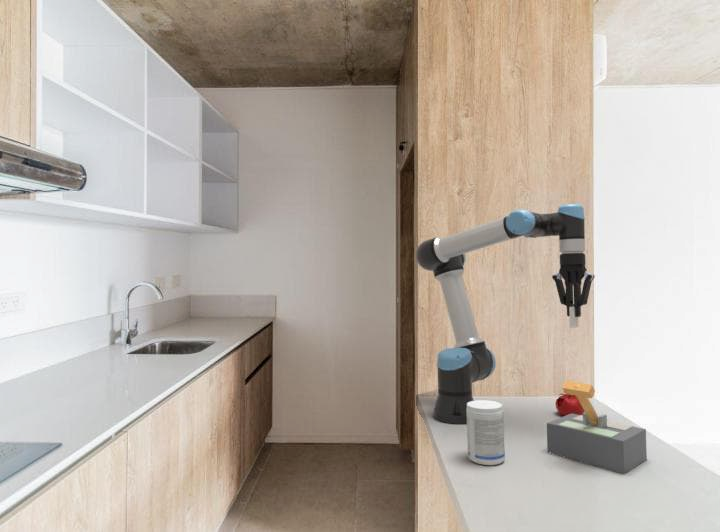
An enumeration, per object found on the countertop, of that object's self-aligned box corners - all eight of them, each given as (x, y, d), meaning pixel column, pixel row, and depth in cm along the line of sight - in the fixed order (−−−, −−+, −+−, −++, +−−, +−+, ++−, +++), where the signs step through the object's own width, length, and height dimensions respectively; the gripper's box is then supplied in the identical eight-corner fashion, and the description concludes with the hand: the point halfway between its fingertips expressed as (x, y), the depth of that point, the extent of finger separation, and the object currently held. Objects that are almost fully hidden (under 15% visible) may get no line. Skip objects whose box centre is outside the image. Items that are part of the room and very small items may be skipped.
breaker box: (547, 452, 132) (546, 411, 132) (572, 440, 141) (571, 402, 141) (624, 474, 116) (622, 428, 117) (646, 459, 125) (645, 416, 125)
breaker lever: (581, 423, 131) (561, 387, 125) (584, 416, 132) (564, 380, 126) (608, 429, 126) (588, 391, 120) (611, 422, 127) (591, 384, 121)
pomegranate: (588, 413, 168) (587, 387, 168) (584, 421, 160) (583, 393, 160) (558, 410, 173) (557, 384, 174) (553, 416, 165) (552, 389, 165)
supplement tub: (512, 461, 126) (511, 405, 126) (487, 469, 120) (486, 411, 121) (484, 450, 134) (483, 397, 134) (460, 457, 129) (458, 403, 129)
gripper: (598, 252, 150) (600, 327, 149) (558, 254, 160) (560, 324, 159) (587, 251, 145) (589, 329, 144) (547, 253, 155) (548, 326, 154)
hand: (574, 327), depth 152 cm, fingers closed
